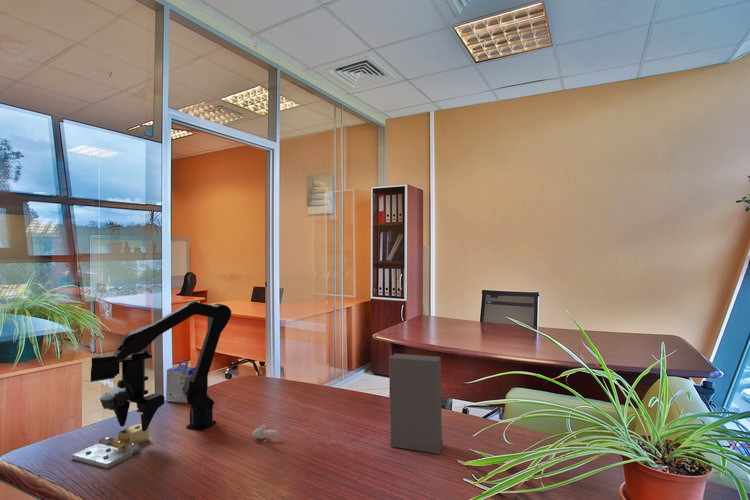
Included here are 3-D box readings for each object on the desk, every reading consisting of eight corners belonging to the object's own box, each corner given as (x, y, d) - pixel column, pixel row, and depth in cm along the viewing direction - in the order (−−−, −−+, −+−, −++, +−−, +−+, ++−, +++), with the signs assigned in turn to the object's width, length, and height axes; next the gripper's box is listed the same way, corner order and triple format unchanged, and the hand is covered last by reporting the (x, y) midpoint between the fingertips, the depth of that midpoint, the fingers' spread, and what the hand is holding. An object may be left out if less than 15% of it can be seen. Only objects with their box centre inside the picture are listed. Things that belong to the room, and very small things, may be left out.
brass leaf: (148, 439, 114) (148, 424, 114) (121, 452, 106) (121, 437, 106) (137, 437, 115) (137, 422, 115) (110, 450, 107) (110, 435, 107)
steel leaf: (141, 451, 106) (141, 442, 106) (107, 468, 97) (107, 459, 98) (107, 443, 111) (107, 435, 111) (71, 459, 102) (71, 450, 103)
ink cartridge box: (198, 398, 147) (198, 360, 148) (188, 403, 142) (188, 364, 142) (175, 396, 149) (175, 359, 150) (165, 401, 144) (165, 363, 144)
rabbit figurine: (263, 433, 116) (280, 426, 113) (261, 447, 114) (278, 440, 110) (247, 428, 113) (264, 420, 110) (244, 442, 110) (262, 434, 107)
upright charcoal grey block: (443, 444, 108) (441, 356, 109) (439, 454, 102) (437, 361, 103) (396, 437, 112) (395, 352, 113) (390, 447, 107) (389, 357, 107)
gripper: (83, 380, 108) (83, 435, 107) (129, 387, 101) (129, 446, 101) (121, 369, 118) (121, 419, 118) (165, 375, 112) (165, 428, 111)
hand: (133, 428), depth 112 cm, fingers open, 9 cm apart
